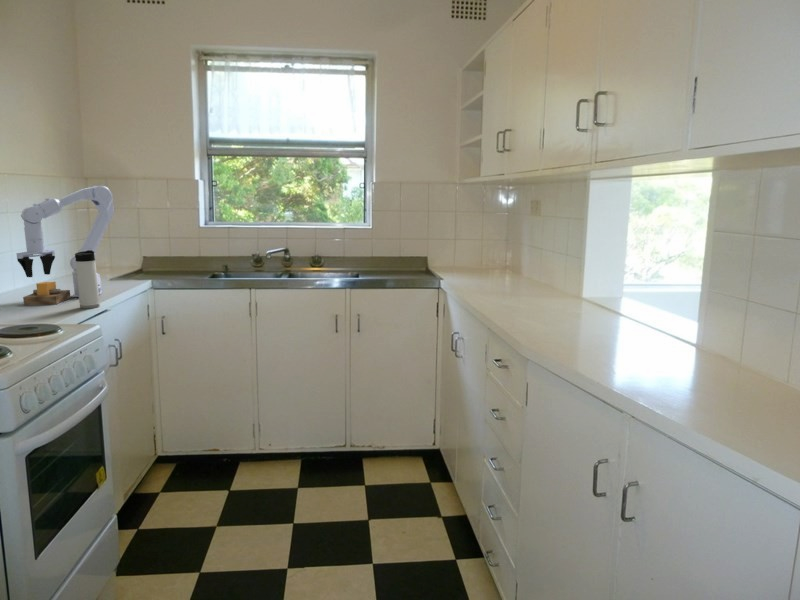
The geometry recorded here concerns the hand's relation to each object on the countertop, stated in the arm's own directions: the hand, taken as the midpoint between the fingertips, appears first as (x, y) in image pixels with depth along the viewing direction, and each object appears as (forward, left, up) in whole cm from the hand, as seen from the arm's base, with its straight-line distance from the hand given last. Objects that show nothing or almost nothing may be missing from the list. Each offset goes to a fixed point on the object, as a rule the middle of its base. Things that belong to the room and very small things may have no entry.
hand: (38, 275), depth 230 cm
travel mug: (-23, +18, -10) cm, 31 cm away
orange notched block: (-3, +3, -9) cm, 10 cm away
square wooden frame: (-4, +3, -9) cm, 10 cm away
